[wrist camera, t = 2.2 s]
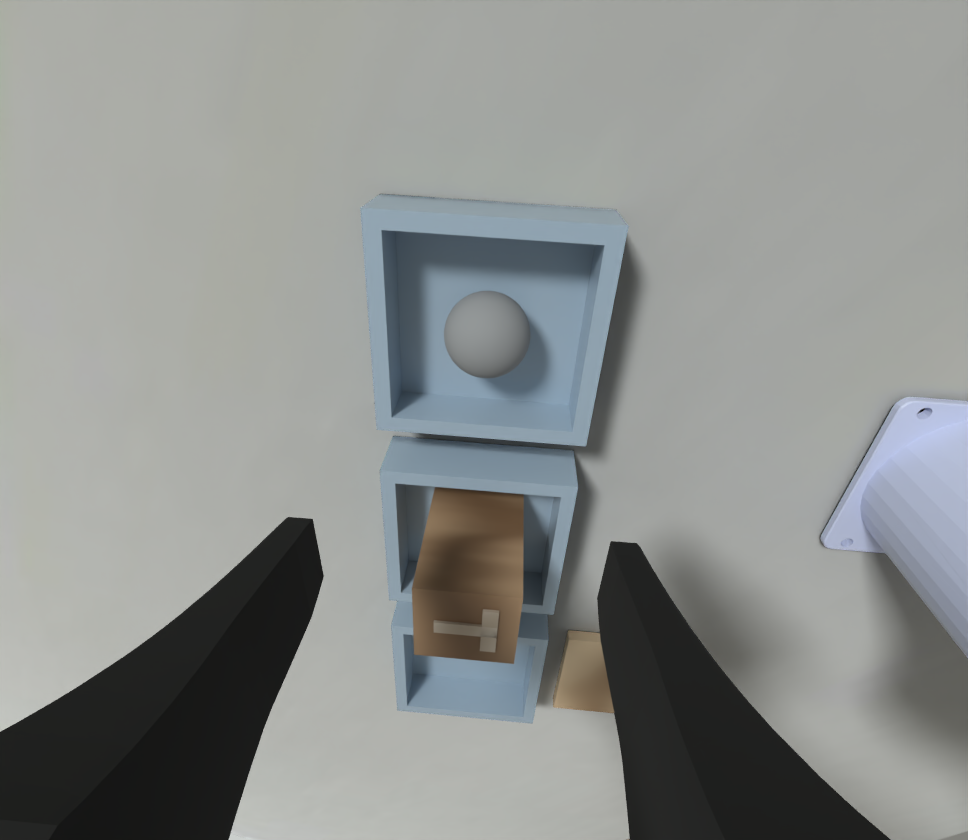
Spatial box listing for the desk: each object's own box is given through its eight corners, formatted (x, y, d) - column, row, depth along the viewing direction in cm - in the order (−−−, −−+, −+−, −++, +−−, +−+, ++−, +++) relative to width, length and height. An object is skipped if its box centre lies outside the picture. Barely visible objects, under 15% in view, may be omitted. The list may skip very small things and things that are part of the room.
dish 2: (573, 450, 23) (578, 487, 21) (551, 574, 27) (553, 614, 25) (393, 435, 23) (379, 470, 21) (399, 560, 27) (389, 600, 25)
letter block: (523, 488, 23) (523, 600, 18) (516, 551, 26) (514, 666, 20) (436, 481, 24) (411, 590, 18) (435, 544, 26) (413, 657, 21)
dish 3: (546, 599, 28) (548, 640, 26) (532, 682, 32) (532, 723, 30) (401, 586, 28) (391, 625, 26) (405, 670, 33) (397, 710, 31)
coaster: (691, 641, 29) (694, 651, 29) (662, 708, 33) (664, 717, 33) (568, 630, 29) (568, 639, 29) (553, 698, 33) (553, 707, 33)
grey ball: (534, 282, 18) (535, 312, 16) (526, 358, 20) (526, 397, 17) (450, 276, 18) (438, 305, 16) (449, 352, 20) (438, 390, 18)
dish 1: (615, 209, 17) (628, 225, 15) (580, 411, 22) (586, 446, 20) (380, 193, 18) (360, 207, 16) (391, 396, 22) (376, 429, 20)
